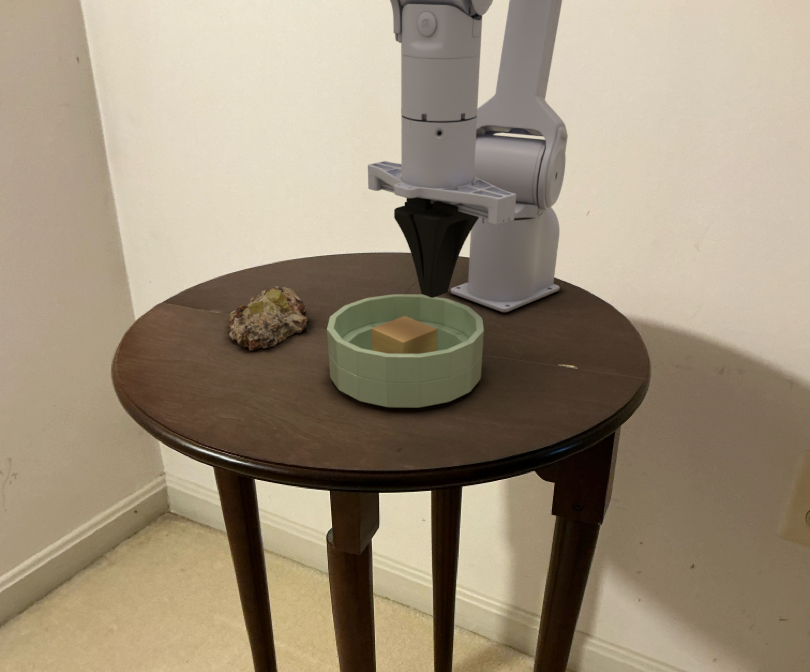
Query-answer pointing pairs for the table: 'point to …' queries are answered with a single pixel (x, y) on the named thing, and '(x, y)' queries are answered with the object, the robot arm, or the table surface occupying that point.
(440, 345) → the bowl
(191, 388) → the table surface
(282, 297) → the mineral rock
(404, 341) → the block
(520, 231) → the robot arm
